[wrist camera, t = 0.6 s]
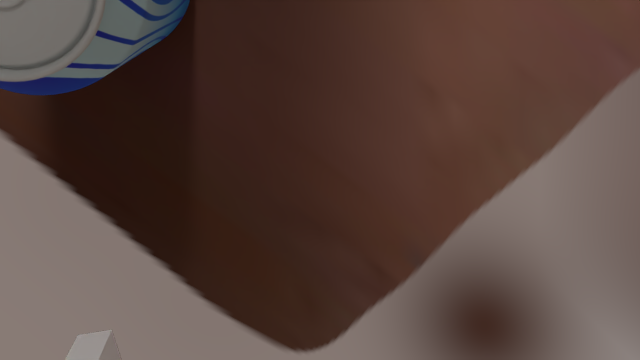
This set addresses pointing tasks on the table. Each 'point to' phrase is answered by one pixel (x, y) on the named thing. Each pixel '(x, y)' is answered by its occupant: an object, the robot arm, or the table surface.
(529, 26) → the table surface
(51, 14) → the beer can
